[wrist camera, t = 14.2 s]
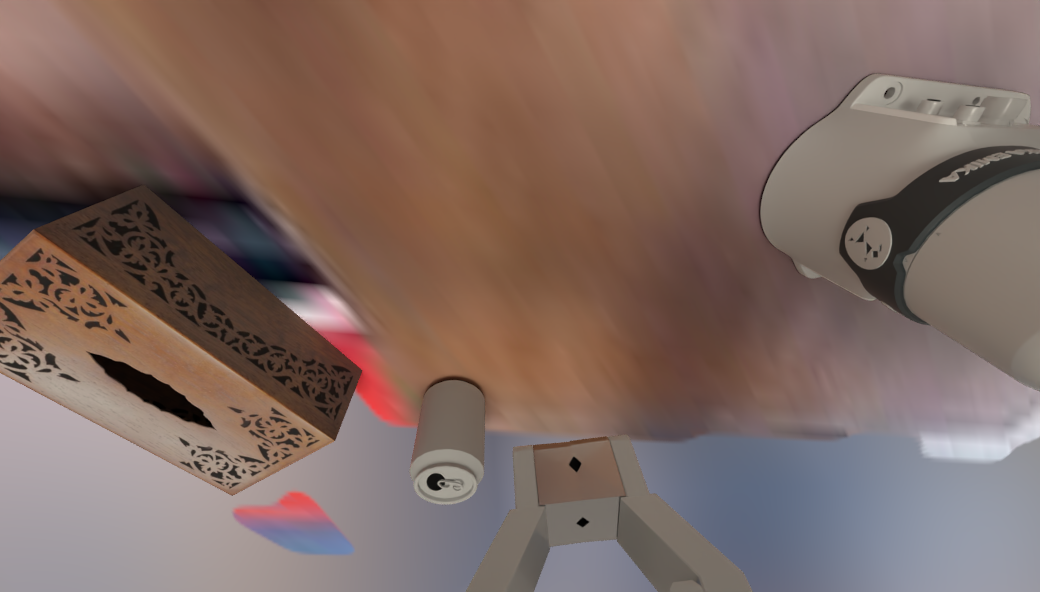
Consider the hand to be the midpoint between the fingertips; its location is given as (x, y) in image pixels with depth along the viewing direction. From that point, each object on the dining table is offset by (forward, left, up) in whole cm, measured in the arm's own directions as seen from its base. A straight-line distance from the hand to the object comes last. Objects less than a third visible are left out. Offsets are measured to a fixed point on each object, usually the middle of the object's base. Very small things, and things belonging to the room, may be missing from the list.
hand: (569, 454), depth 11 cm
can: (+10, +27, -29) cm, 41 cm away
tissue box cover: (+32, +13, -30) cm, 45 cm away
